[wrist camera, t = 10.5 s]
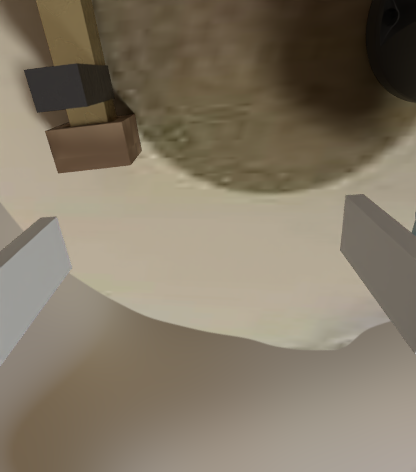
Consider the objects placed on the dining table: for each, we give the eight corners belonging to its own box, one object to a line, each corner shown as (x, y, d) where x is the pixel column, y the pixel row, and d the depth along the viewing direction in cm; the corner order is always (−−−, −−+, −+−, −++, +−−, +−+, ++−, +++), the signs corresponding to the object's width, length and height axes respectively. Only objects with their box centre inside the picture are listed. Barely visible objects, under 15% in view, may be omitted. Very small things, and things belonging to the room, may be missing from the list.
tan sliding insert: (28, -80, 28) (-43, -141, 20) (75, -86, 28) (23, -151, 20) (86, 144, 36) (53, 165, 28) (123, 140, 36) (101, 160, 28)
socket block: (70, 121, 36) (45, 131, 30) (134, 114, 36) (121, 122, 30) (80, 157, 38) (58, 173, 32) (141, 150, 38) (130, 165, 32)
